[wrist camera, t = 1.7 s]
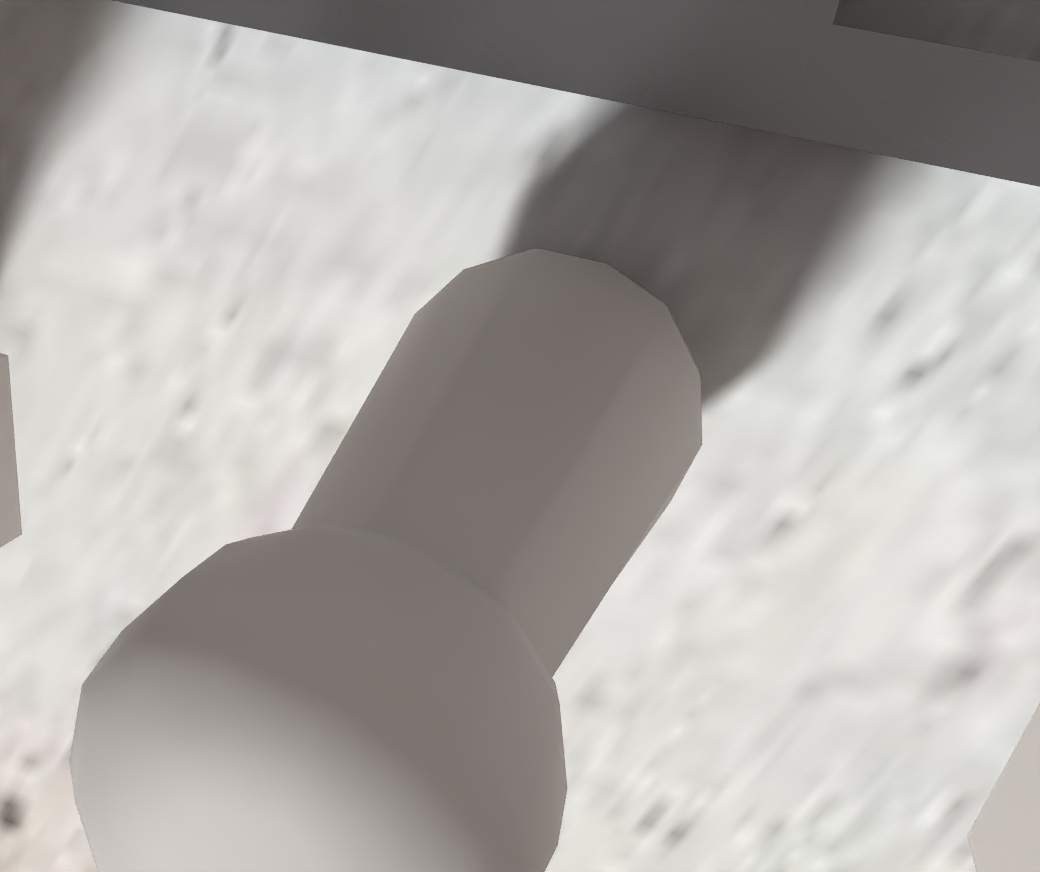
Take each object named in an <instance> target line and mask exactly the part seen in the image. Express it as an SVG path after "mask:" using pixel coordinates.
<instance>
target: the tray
mask: <svg viewBox="0 0 1040 872" xmlns="http://www.w3.org/2000/svg"><path fill="white" fill-rule="evenodd" d="M113 1H118V2H123V3H128V4H133V5H138V6H143V7H148V8H153V9H158V10H163V11H168V12H173V13H178V14H183V15H188V16H193V17H198V18H203V19H208V20H213V21H218V22H223V23H228V24H233V25H238V26H243V27H248V28H253V29H258V30H263V31H268V32H273V33H278V34H283V35H288V36H293V37H298V38H303V39H308V40H313V41H318V42H323V43H328V44H332V45H337V46H342V47H347V48H352V49H357V50H362V51H367V52H372V53H377V54H382V55H387V56H392V57H397V58H402V59H407V60H412V61H417V62H422V63H427V64H432V65H437V66H442V67H447V68H452V69H457V70H462V71H467V72H472V73H477V74H482V75H487V76H492V77H497V78H502V79H507V80H512V81H517V82H522V83H527V84H532V85H537V86H542V87H547V88H552V89H557V90H562V91H567V92H572V93H577V94H581V95H586V96H591V97H596V98H601V99H606V100H611V101H616V102H621V103H626V104H631V105H636V106H641V107H646V108H651V109H656V110H661V111H666V112H671V113H676V114H681V115H686V116H691V117H696V118H701V119H706V120H711V121H716V122H721V123H726V124H731V125H736V126H741V127H746V128H751V129H756V130H761V131H766V132H771V133H776V134H781V135H786V136H791V137H796V138H801V139H806V140H811V141H816V142H821V143H826V144H830V145H835V146H840V147H845V148H850V149H855V150H860V151H865V152H870V153H875V154H880V155H885V156H890V157H895V158H900V159H905V160H910V161H915V162H920V163H925V164H930V165H935V166H940V167H945V168H950V169H955V170H960V171H965V172H970V173H975V174H980V175H985V176H990V177H995V178H1000V179H1005V180H1010V181H1015V182H1020V183H1025V184H1030V185H1035V186H1040V61H1034V60H1028V59H1023V58H1017V57H1012V56H1006V55H1001V54H995V53H990V52H984V51H979V50H973V49H968V48H962V47H957V46H951V45H945V44H940V43H934V42H929V41H923V40H918V39H912V38H907V37H901V36H896V35H890V34H885V33H879V32H874V31H868V30H863V29H857V28H851V27H846V26H840V25H835V24H833V22H834V19H835V15H836V12H837V9H838V5H839V2H840V0H113Z"/></svg>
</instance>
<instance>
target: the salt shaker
mask: <svg viewBox="0 0 1040 872" xmlns="http://www.w3.org/2000/svg"><path fill="white" fill-rule="evenodd" d="M701 445H702V417H701V375H700V373H699V371H698V368H697V366H696V364H695V362H694V360H693V358H692V356H691V354H690V352H689V350H688V348H687V346H686V344H685V342H684V340H683V338H682V336H681V333H680V331H679V329H678V327H677V325H676V323H675V321H674V319H673V317H672V315H671V313H670V311H669V309H668V307H667V305H666V304H664V303H663V302H662V301H660V300H659V299H657V298H656V297H655V296H653V295H652V294H650V293H649V292H647V291H646V290H645V289H643V288H642V287H640V286H639V285H638V284H636V283H635V282H633V281H632V280H631V279H629V278H628V277H626V276H625V275H623V274H622V273H621V272H619V271H618V270H616V269H615V268H614V267H612V266H611V265H609V264H608V263H603V262H598V261H594V260H589V259H585V258H580V257H576V256H571V255H566V254H562V253H557V252H553V251H548V250H544V249H530V250H527V251H523V252H520V253H517V254H513V255H510V256H507V257H504V258H500V259H497V260H494V261H490V262H487V263H484V264H480V265H477V266H474V267H471V268H467V269H464V270H463V271H462V272H461V273H459V274H458V275H457V276H456V277H455V278H454V279H453V280H452V281H451V282H450V283H449V284H447V285H446V286H445V287H444V288H443V289H442V290H441V291H440V292H439V293H438V294H437V295H435V296H434V297H433V298H432V299H431V300H430V301H429V302H428V303H427V304H426V305H424V306H423V307H422V308H421V309H420V310H419V311H418V312H417V313H416V314H415V315H414V317H413V319H412V320H411V322H410V324H409V326H408V327H407V329H406V331H405V333H404V334H403V336H402V338H401V339H400V341H399V343H398V345H397V346H396V348H395V350H394V352H393V353H392V355H391V357H390V359H389V360H388V362H387V364H386V366H385V367H384V369H383V371H382V373H381V374H380V376H379V378H378V380H377V381H376V383H375V385H374V387H373V388H372V390H371V392H370V394H369V395H368V397H367V399H366V401H365V402H364V404H363V406H362V408H361V409H360V411H359V413H358V414H357V416H356V418H355V420H354V421H353V423H352V425H351V427H350V428H349V430H348V432H347V434H346V435H345V437H344V439H343V441H342V442H341V444H340V446H339V448H338V449H337V451H336V453H335V455H334V456H333V458H332V460H331V462H330V463H329V465H328V467H327V469H326V470H325V472H324V474H323V476H322V477H321V479H320V481H319V482H318V484H317V486H316V488H315V489H314V491H313V493H312V495H311V496H310V498H309V500H308V502H307V503H306V505H305V507H304V509H303V510H302V512H301V514H300V516H299V517H298V519H297V521H296V523H295V524H294V526H293V528H292V530H287V531H282V532H277V533H272V534H267V535H262V536H257V537H252V538H248V539H245V540H241V541H237V542H234V543H230V544H226V545H225V546H223V547H222V548H221V549H219V550H218V551H217V552H215V553H214V554H213V555H211V556H210V557H209V558H208V559H206V560H205V561H204V562H202V563H201V564H200V565H198V566H197V567H196V568H194V569H193V570H192V571H190V572H189V573H188V574H186V575H185V576H184V577H182V578H181V579H180V580H179V581H178V582H177V583H176V584H174V585H173V586H172V587H171V588H170V589H169V590H168V591H167V592H165V593H164V594H163V595H162V596H161V597H160V598H159V599H157V600H156V601H155V602H154V603H153V604H152V605H151V606H150V607H148V608H147V609H146V610H145V611H144V612H143V613H142V614H141V615H139V616H138V617H137V618H136V619H135V620H134V621H133V622H131V623H130V624H129V625H128V626H127V627H126V628H125V629H124V630H122V632H121V633H120V634H119V636H118V637H117V638H116V640H115V641H114V642H113V644H112V645H111V646H110V648H109V649H108V650H107V652H106V653H105V654H104V656H103V657H102V659H101V660H100V661H99V663H98V664H97V665H96V667H95V668H94V669H93V671H92V672H91V673H90V675H89V676H88V677H87V679H86V680H85V681H84V683H83V684H82V689H81V695H80V701H79V707H78V713H77V719H76V725H75V730H74V736H73V742H72V748H71V754H70V766H71V774H72V781H73V789H74V796H75V803H76V806H77V809H78V812H79V815H80V818H81V821H82V824H83V827H84V831H85V834H86V837H87V840H88V843H89V846H90V849H91V852H92V855H93V858H94V861H95V864H96V867H97V870H98V872H544V871H545V869H546V867H547V865H548V863H549V861H550V859H551V857H552V855H553V853H554V851H555V849H556V847H557V845H558V840H559V834H560V828H561V822H562V816H563V811H564V805H565V799H566V793H567V780H566V769H565V758H564V747H563V736H562V725H561V714H560V704H559V699H558V695H557V690H556V685H555V682H554V680H553V679H552V677H553V675H554V674H555V672H556V670H557V669H558V667H559V666H560V664H561V663H562V661H563V660H564V658H565V656H566V655H567V653H568V652H569V650H570V649H571V647H572V646H573V644H574V642H575V641H576V639H577V638H578V636H579V635H580V633H581V632H582V630H583V628H584V627H585V625H586V624H587V622H588V621H589V619H590V618H591V616H592V614H593V613H594V611H595V610H596V608H597V607H598V605H599V604H600V602H601V600H602V599H603V597H604V596H605V594H606V593H607V591H608V590H609V588H610V587H611V585H612V584H613V582H614V581H615V579H616V578H617V577H618V575H619V574H620V572H621V571H622V569H623V568H624V567H625V565H626V564H627V562H628V561H629V560H630V558H631V557H632V555H633V554H634V553H635V551H636V550H637V548H638V547H639V545H640V544H641V543H642V541H643V540H644V538H645V537H646V536H647V534H648V533H649V531H650V530H651V528H652V527H653V526H654V524H655V523H656V521H657V520H658V519H659V517H660V516H661V514H662V513H663V511H664V510H665V509H666V507H667V506H668V504H669V503H670V501H671V500H672V498H673V496H674V494H675V492H676V491H677V489H678V487H679V485H680V483H681V481H682V480H683V478H684V476H685V474H686V472H687V471H688V469H689V467H690V465H691V463H692V462H693V460H694V458H695V456H696V454H697V452H698V451H699V449H700V447H701Z"/></svg>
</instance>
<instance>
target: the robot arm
mask: <svg viewBox="0 0 1040 872" xmlns="http://www.w3.org/2000/svg"><path fill="white" fill-rule="evenodd" d="M21 534H22V530H21V517H20V504H19V491H18V478H17V465H16V452H15V439H14V427H13V414H12V401H11V388H10V375H9V362H8V355H5V354H1V353H0V547H2V546H4V545H5V544H7V543H8V542H10V541H12V540H13V539H15V538H16V537H18V536H20V535H21ZM967 837H968V841H969V845H970V849H971V853H972V856H973V860H974V864H975V868H976V871H977V872H1040V703H1039V705H1038V707H1037V709H1036V711H1035V713H1034V714H1033V716H1032V718H1031V720H1030V722H1029V724H1028V725H1027V727H1026V729H1025V731H1024V733H1023V735H1022V736H1021V738H1020V740H1019V742H1018V744H1017V746H1016V747H1015V749H1014V751H1013V753H1012V755H1011V757H1010V758H1009V760H1008V762H1007V764H1006V766H1005V768H1004V769H1003V771H1002V773H1001V775H1000V777H999V779H998V780H997V782H996V784H995V786H994V788H993V790H992V791H991V793H990V795H989V797H988V799H987V801H986V802H985V804H984V806H983V808H982V810H981V812H980V813H979V815H978V817H977V819H976V821H975V823H974V824H973V826H972V828H971V830H970V832H969V834H968V836H967Z"/></svg>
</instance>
